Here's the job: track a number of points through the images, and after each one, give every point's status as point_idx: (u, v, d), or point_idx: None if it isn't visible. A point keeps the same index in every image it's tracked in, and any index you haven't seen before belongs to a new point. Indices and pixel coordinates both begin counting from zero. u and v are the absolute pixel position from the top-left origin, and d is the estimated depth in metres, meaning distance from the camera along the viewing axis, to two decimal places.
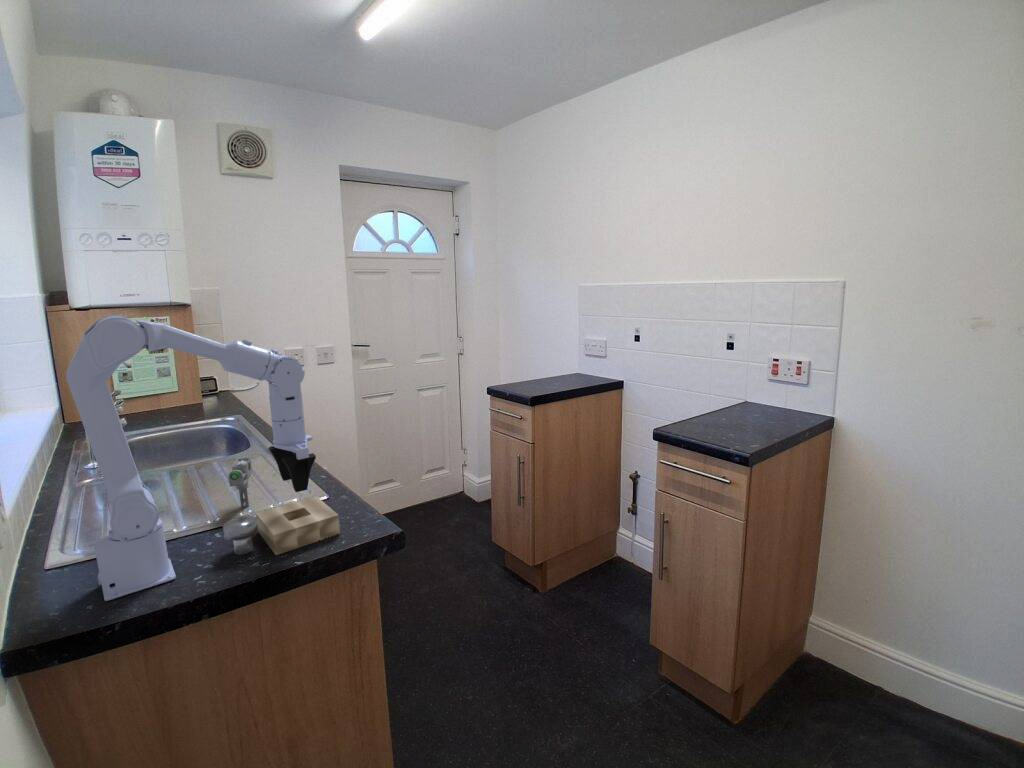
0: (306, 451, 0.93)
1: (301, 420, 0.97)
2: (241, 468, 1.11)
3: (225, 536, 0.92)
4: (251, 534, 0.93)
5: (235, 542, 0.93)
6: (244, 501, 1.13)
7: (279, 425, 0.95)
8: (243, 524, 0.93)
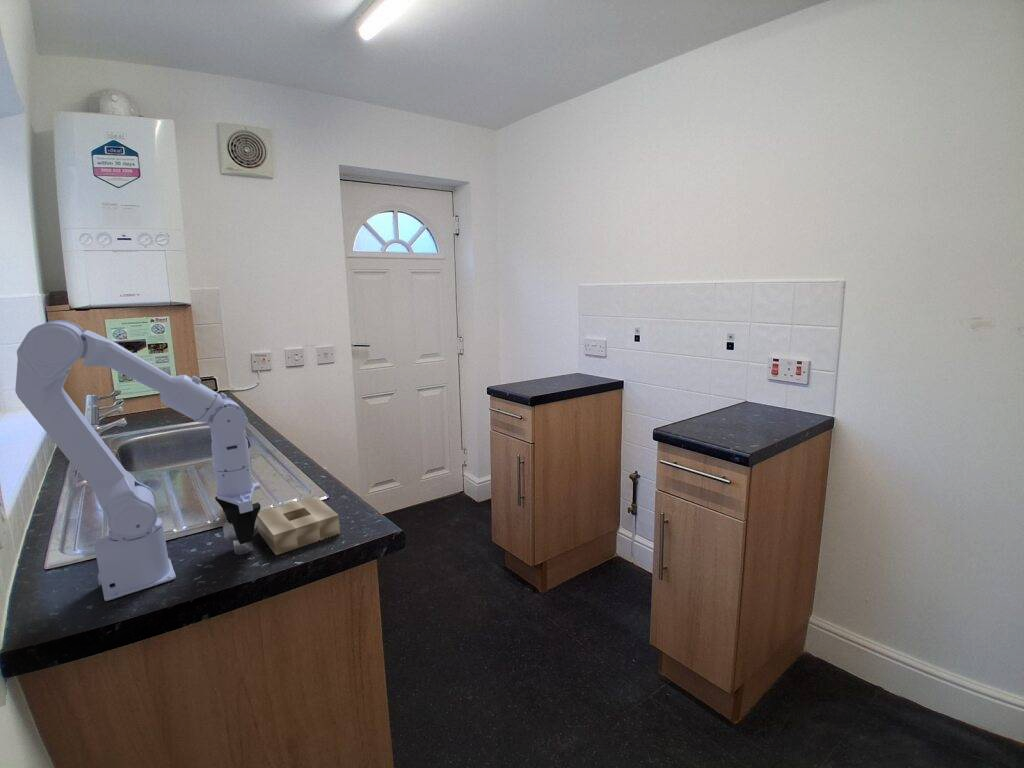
0: (250, 504, 0.87)
1: (246, 469, 0.91)
2: None
3: (225, 536, 0.92)
4: None
5: (235, 542, 0.93)
6: None
7: (222, 475, 0.89)
8: None
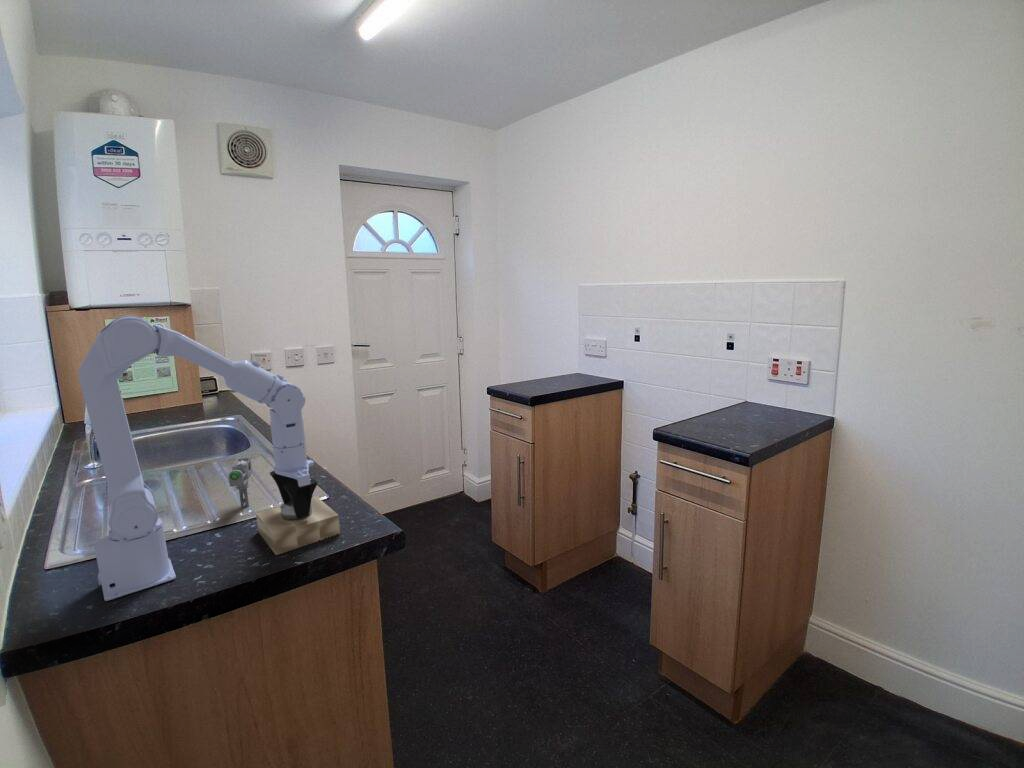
0: (308, 478, 0.93)
1: (302, 446, 0.97)
2: (241, 468, 1.11)
3: (283, 516, 0.98)
4: None
5: None
6: (244, 501, 1.13)
7: (280, 452, 0.95)
8: None
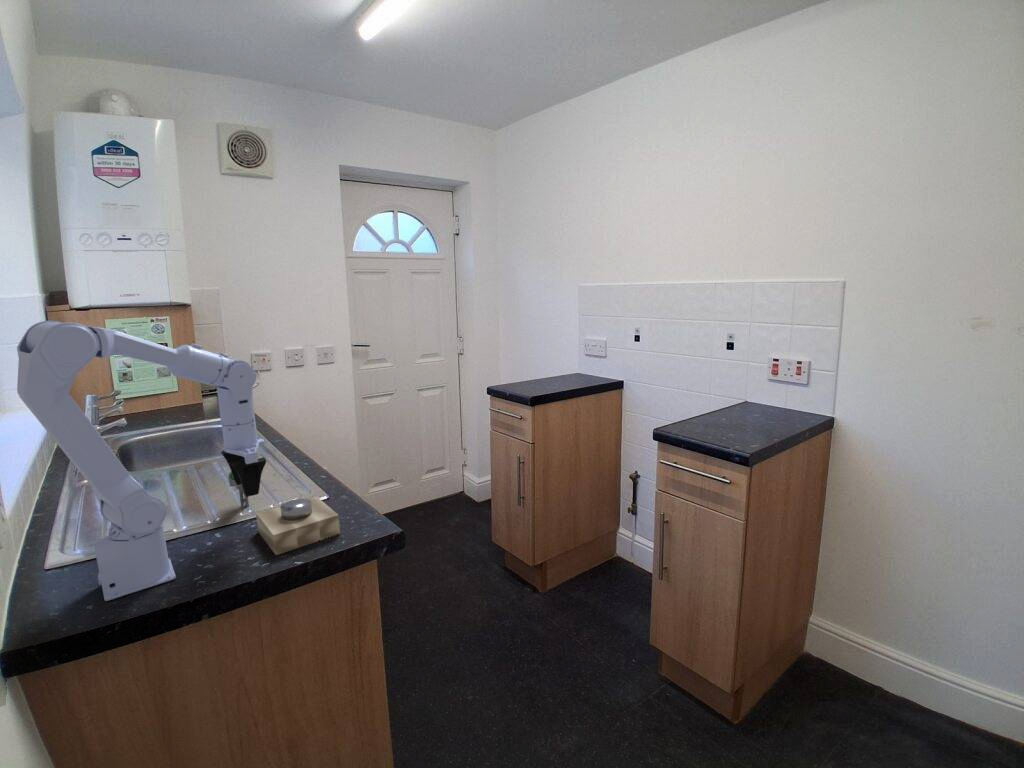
0: (255, 455, 0.92)
1: (252, 424, 0.96)
2: None
3: (283, 516, 0.98)
4: (307, 515, 0.99)
5: None
6: (244, 501, 1.13)
7: (228, 429, 0.94)
8: (299, 505, 0.99)
